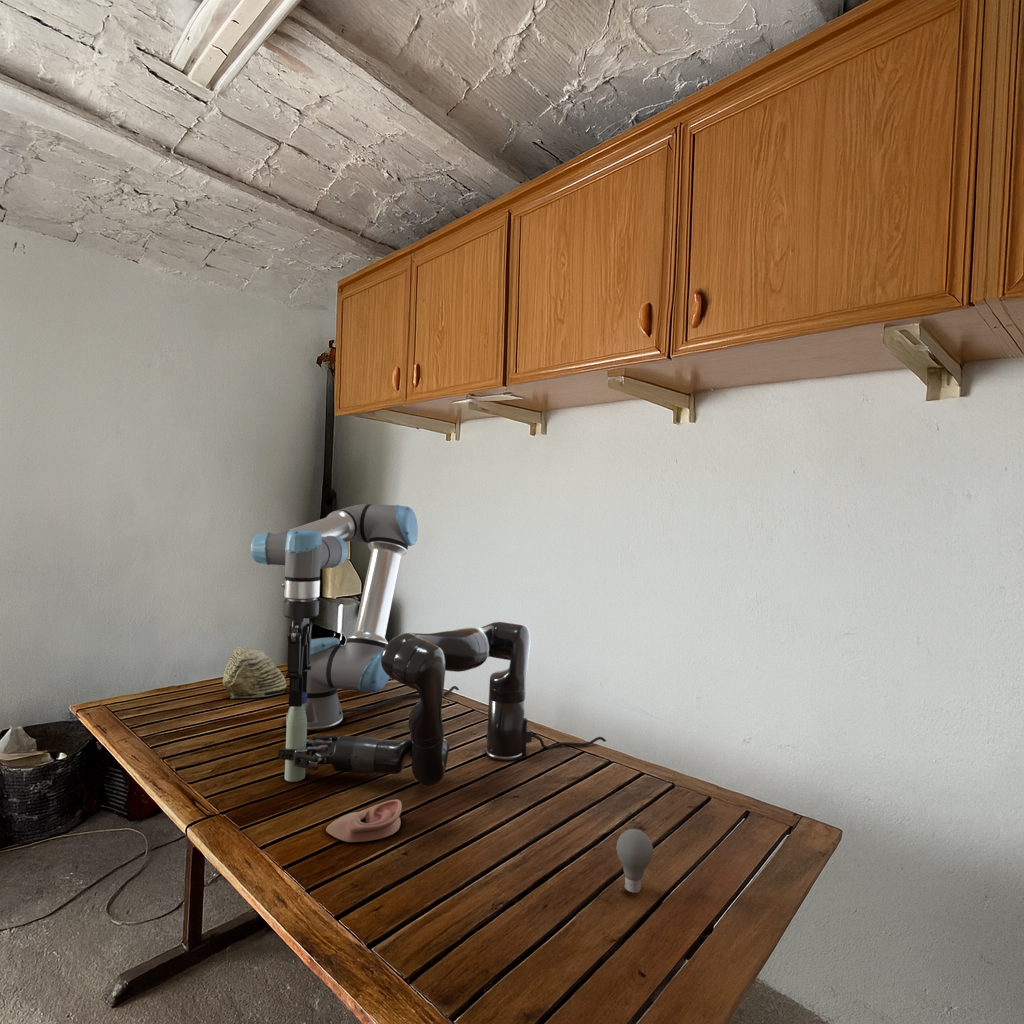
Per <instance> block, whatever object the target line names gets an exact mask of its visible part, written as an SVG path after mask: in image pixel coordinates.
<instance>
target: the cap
mask: <svg viewBox="0 0 1024 1024" xmlns="http://www.w3.org/2000/svg"><path fill="white" fill-rule="evenodd" d="M306 702H307V693H306V692H302V704H305V703H306ZM288 704H289V698H288Z"/></svg>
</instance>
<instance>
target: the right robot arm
mask: <svg viewBox="0 0 1024 1024" xmlns="http://www.w3.org/2000/svg"><path fill="white" fill-rule="evenodd" d="M530 651H531V632H530V629H529V627H528V626H527V625H525V624H520V623H515V622H507V621H495V622H492V623H488V624H486V625H483V626H480V627H464V628H463V627H462V628H457V629H453V630H446V631H445V630H444V631H437V632H432V633H419V632H403V633H400V634H399V635H397V636H395V637H393V638H392V639H391V640H390V641H388V644H387V645H386V647H385V648H384V650H383V653H382V656H381V665H382V668H383V670H384V671H385V673H386V674H387V675H388V676H390V678H391V679H393V680H395V681H397V682H398V683H400V684H401V685H404V686H406V687H408V688H410V689H412V690H416V691H417V694H419V695H420V697H419V701H417V702H416V703H415V704H414V706H413V707H412V709H411V711H410V713H409V716H408V729H409V734H410V737H409V738H404V739H403V738H402V739H397V740H394V739H384V738H383V739H382V738H375V737H371V736H370V737H369V736H355V735H340V736H338V735H321V736H311V737H310V739H306V749H297V750H296V749H286V747H285V748H284V747H283V748H281V747H280V749H278V755H277V758H278V760H282V761H285V760H294V766H297V767H302V768H305V770H306V769H307V770H311V771H318V770H319V766H320V765H330V764H331V765H332V767H333V770H334V771H335V772H340V773H353V774H355V773H356V774H388V775H399V774H401V772H403V770H404V769H405V766H406V765H407V763H408V762H409V761H410V760H411V770H412V776H413V778H414V779H415V780H416V782H417V783H419V784H420V785H423V786H425V787H434V786H436V785H438V784H439V783H440V782H442V780H443V778H444V777H445V775H446V768H447V764H448V759H449V753H450V744H449V742H448V741H447V740H446V739H445V731H444V724H443V723H444V722H443V716H442V715H443V713H442V712H443V711H442V709H443V699H444V696H443V693H444V692H445V681H446V680H445V679H446V671H447V672H454V673H455V672H456V673H460V672H466V671H470V670H473V669H476V668H479V667H481V666H482V665H483V664H484V663H485V662H486V661H487V659H488V658H493V659H499V660H506V661H509V666H508V668H505V669H501V670H496V671H495V672H492V673H491V674H490V675H489V684H488V685H489V686H488V709H487V731H486V733H485V734H486V735H485V738H486V748H485V753H486V756H488V757H489V758H491V759H494V760H497V761H515V760H519V759H521V758H522V757H526V756H527V744H528V743H532V740H533V738H534V739H537V740H538V741H539V742H540V745H541V747H542V748H544V749H546V750H549V749H554V748H557V747H561V746H575V747H576V746H577V747H587V746H590V745H592V744H594V743H595V742H597V741H600V740H601V741H602V742H604V743H605V742H607V740H606V739H605V738H604V737H603V736H596V737H595V738H593V739H592V740H590V741H587V742H572V741H571V742H570V741H562V742H557V743H554V744H552V745H546V744H545V743H544V740H543V739H542V738H541V737H540V736H539V735H537V734H534V733H533V731H532V730H531V729H530V728H529V727H528V717H526V716H525V713H526V711H525V709H526V708H525V707H526V689H527V688H526V687H527V678H528V677H527V676H528V672H529V659H530ZM302 753H305V754H302Z"/></svg>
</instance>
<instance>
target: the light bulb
mask: <svg viewBox="0 0 1024 1024" xmlns="http://www.w3.org/2000/svg"><path fill="white" fill-rule="evenodd" d="M615 849H616V854H617V857H618V859H619V861H620V863H621V865H622V867H623V873H624V874H623V875H624V876H625V878H624V888H625V890H627V891H628V892H630V893H634V894H635V893H639V892H640V891H641V889H642V887H641V886H642V879H643V877H644V875H645V871H646V868H647V867H648V866H649V864H650V863H651V861H652V859H653V855H654V847H653V843H652V841H651V838H649V836H648V835H647V834H646V833H645V832H643V831H642V830H641V829H636V828H629V829H627V830H625V831H623V832H622V833H621V834H620V835H619V837H618V839H617V841H616V847H615Z"/></svg>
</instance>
